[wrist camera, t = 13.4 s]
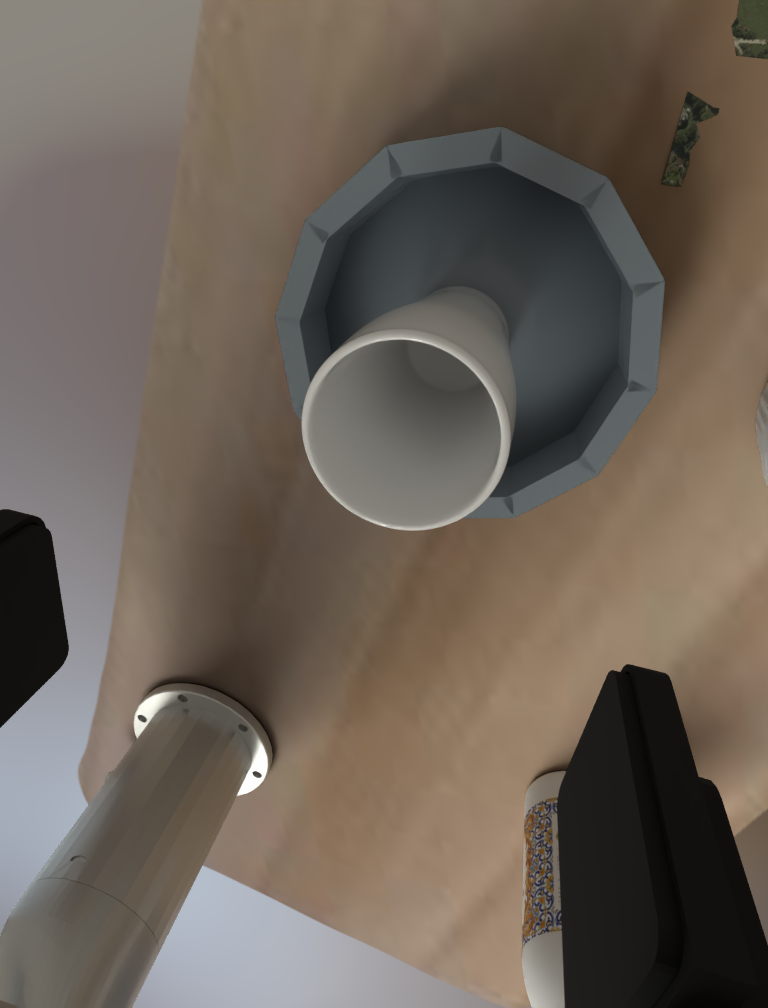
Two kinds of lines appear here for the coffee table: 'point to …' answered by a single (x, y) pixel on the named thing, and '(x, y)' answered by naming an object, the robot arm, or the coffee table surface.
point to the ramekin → (763, 431)
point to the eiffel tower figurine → (757, 33)
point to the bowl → (493, 289)
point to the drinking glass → (416, 412)
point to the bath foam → (542, 895)
